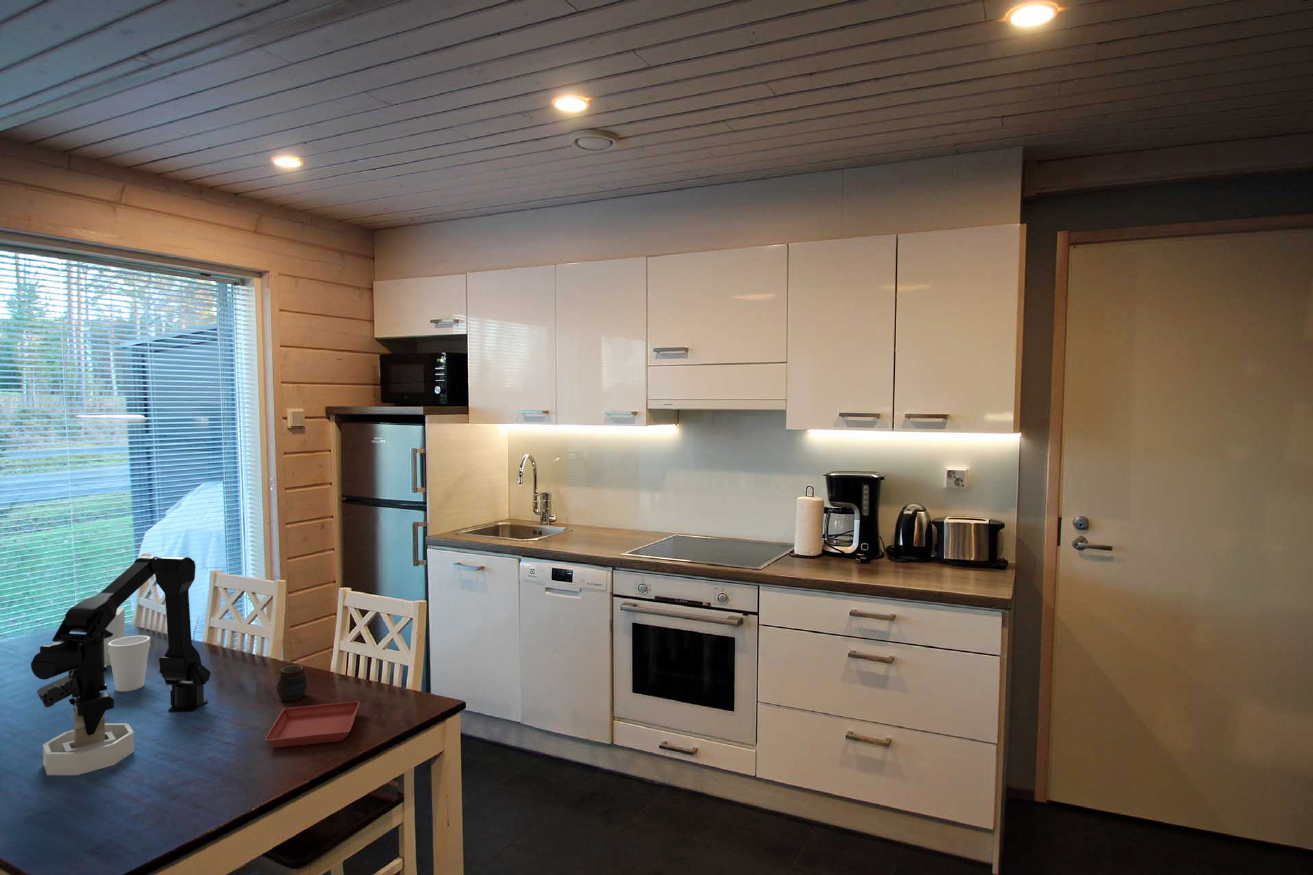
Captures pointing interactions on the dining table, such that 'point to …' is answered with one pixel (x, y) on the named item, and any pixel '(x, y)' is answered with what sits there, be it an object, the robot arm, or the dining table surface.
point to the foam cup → (129, 661)
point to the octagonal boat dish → (87, 751)
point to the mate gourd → (292, 683)
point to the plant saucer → (312, 724)
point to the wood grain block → (81, 734)
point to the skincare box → (115, 631)
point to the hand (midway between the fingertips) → (89, 732)
